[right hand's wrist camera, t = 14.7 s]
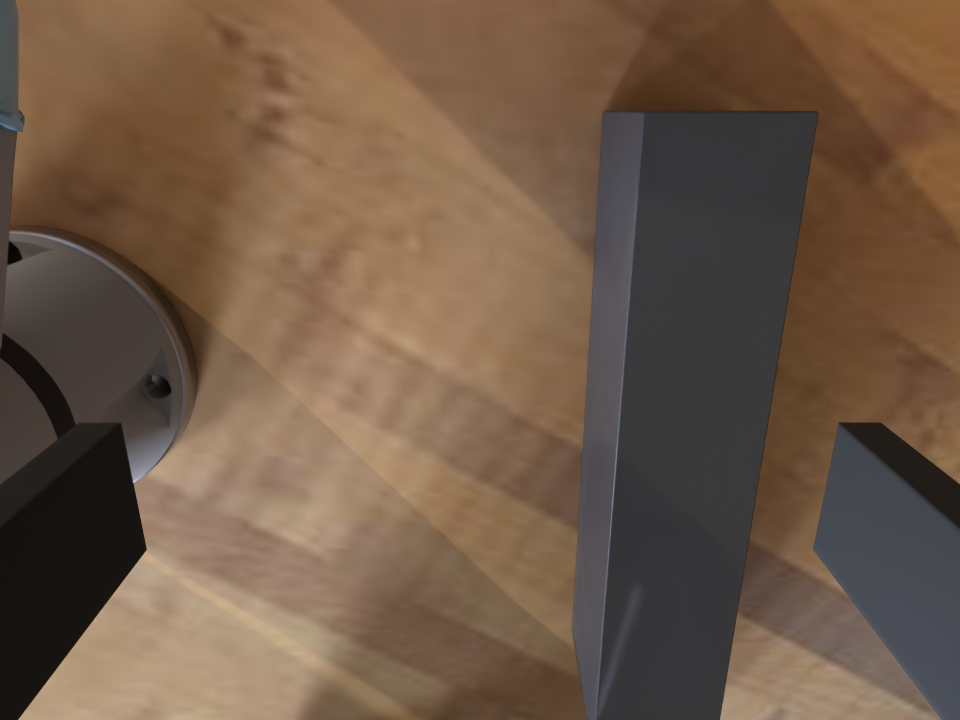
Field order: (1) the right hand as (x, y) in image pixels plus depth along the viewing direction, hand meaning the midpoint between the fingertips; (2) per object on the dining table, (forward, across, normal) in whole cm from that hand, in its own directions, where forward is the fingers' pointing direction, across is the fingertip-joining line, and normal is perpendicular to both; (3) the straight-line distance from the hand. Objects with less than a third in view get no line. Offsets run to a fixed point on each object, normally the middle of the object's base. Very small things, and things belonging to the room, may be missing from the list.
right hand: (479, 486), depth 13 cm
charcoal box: (+25, -9, +10) cm, 28 cm away
